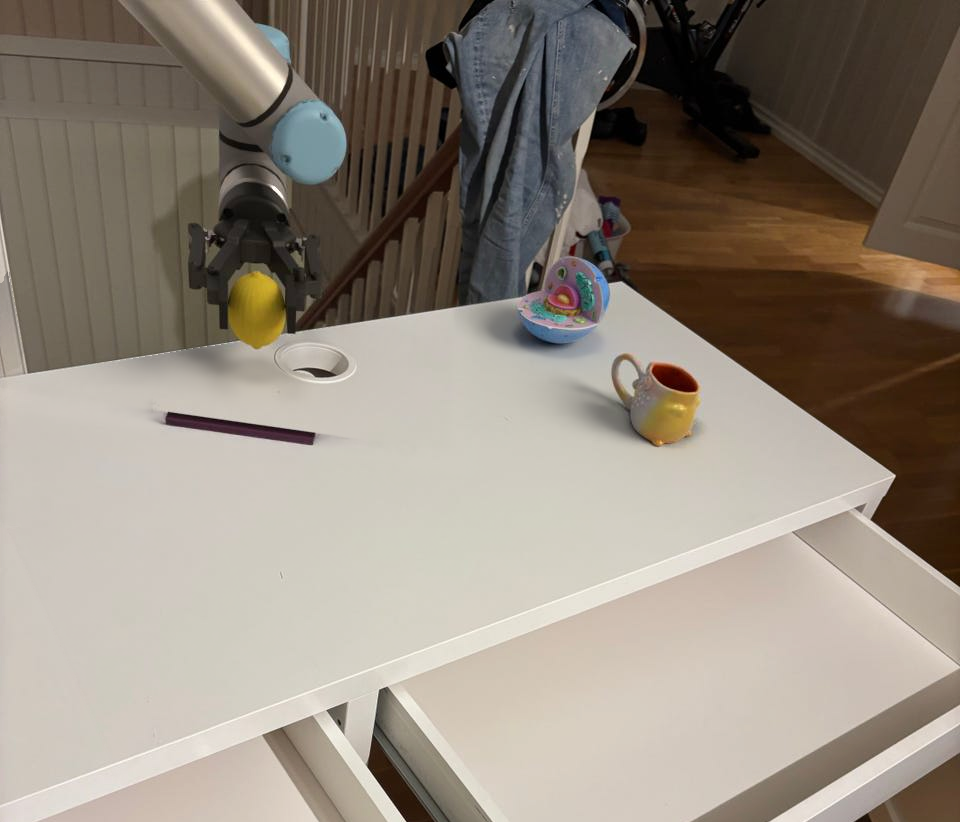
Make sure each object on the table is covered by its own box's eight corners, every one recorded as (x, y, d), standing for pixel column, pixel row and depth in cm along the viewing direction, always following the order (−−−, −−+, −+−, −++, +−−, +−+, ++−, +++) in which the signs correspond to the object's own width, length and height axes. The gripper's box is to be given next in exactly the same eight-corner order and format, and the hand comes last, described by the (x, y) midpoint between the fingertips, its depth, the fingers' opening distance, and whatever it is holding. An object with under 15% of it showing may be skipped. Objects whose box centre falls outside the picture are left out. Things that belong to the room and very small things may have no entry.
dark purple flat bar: (165, 424, 93) (165, 417, 92) (177, 397, 97) (176, 390, 96) (312, 445, 95) (313, 438, 94) (318, 418, 98) (319, 411, 98)
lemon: (252, 329, 100) (252, 253, 95) (295, 349, 99) (298, 273, 94) (216, 348, 97) (214, 270, 91) (261, 368, 95) (261, 290, 90)
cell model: (493, 329, 119) (507, 252, 112) (561, 311, 125) (579, 238, 119) (549, 367, 114) (567, 289, 107) (617, 347, 121) (638, 272, 114)
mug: (700, 440, 108) (720, 386, 103) (656, 453, 104) (674, 398, 100) (629, 386, 114) (645, 333, 110) (586, 396, 111) (600, 342, 106)
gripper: (337, 257, 111) (354, 360, 95) (167, 242, 106) (155, 348, 91) (341, 189, 106) (361, 287, 90) (163, 171, 101) (150, 270, 85)
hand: (258, 317), depth 90 cm, fingers closed on lemon, 5 cm apart
